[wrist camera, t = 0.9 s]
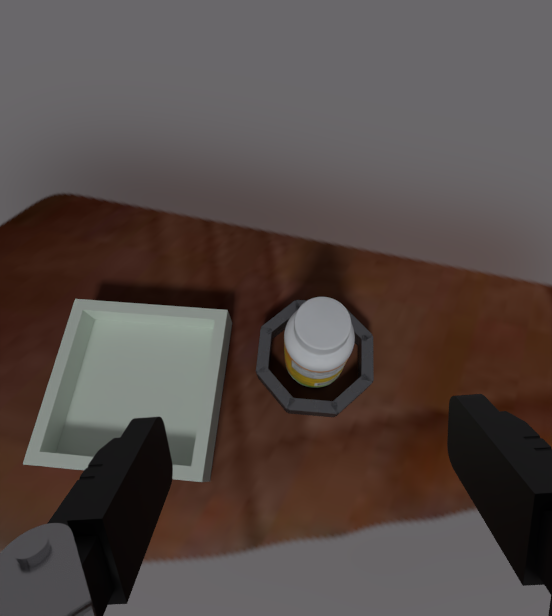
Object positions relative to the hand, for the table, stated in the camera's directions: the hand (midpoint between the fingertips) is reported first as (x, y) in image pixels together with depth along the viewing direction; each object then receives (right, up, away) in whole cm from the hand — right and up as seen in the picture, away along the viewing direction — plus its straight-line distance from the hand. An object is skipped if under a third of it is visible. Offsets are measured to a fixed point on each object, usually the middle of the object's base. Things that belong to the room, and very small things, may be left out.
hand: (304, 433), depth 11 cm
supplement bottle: (+3, -1, +25) cm, 25 cm away
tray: (-13, -4, +24) cm, 28 cm away
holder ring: (+3, -1, +25) cm, 25 cm away
